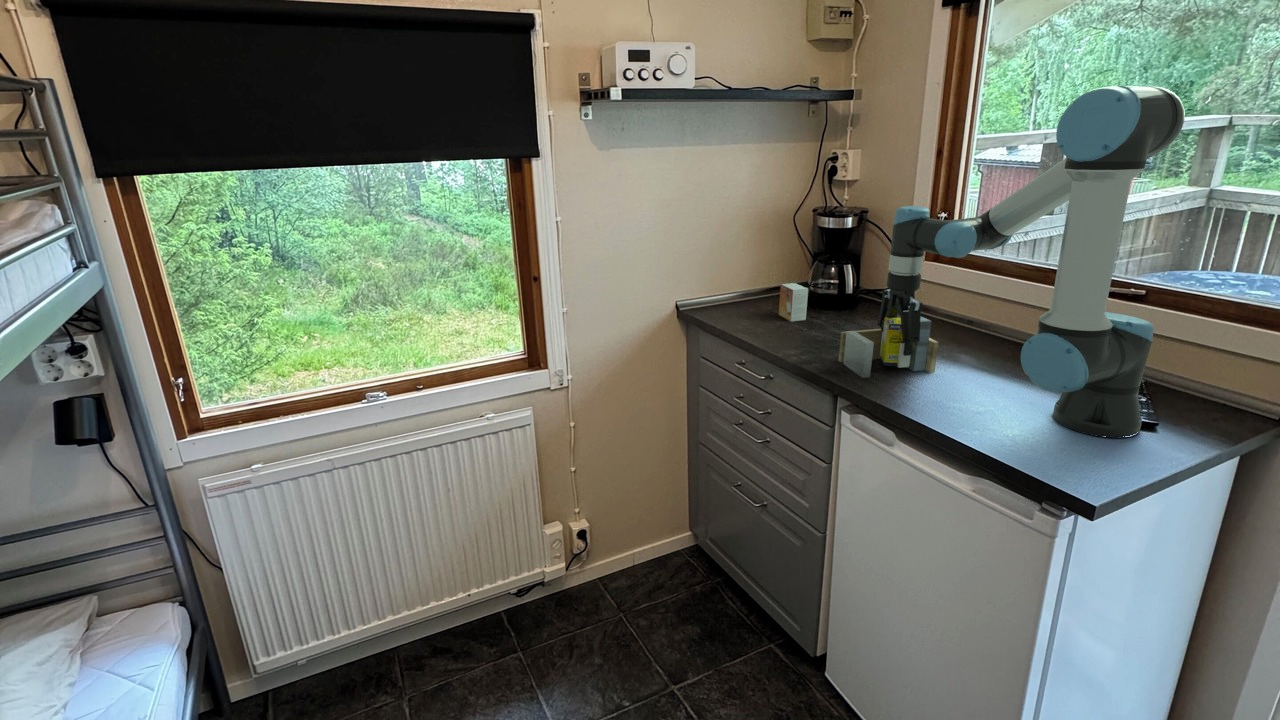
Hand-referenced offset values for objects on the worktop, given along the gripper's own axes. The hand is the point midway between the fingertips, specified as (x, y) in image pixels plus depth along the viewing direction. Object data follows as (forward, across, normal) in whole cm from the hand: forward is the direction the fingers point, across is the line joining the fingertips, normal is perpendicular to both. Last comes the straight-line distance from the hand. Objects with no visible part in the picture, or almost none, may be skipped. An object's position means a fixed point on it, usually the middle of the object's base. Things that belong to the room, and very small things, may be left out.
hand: (894, 361), depth 167 cm
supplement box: (0, 0, 0) cm, 0 cm away
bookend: (+2, +2, +9) cm, 10 cm away
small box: (+3, +50, +6) cm, 51 cm away
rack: (+2, +3, +1) cm, 4 cm away
